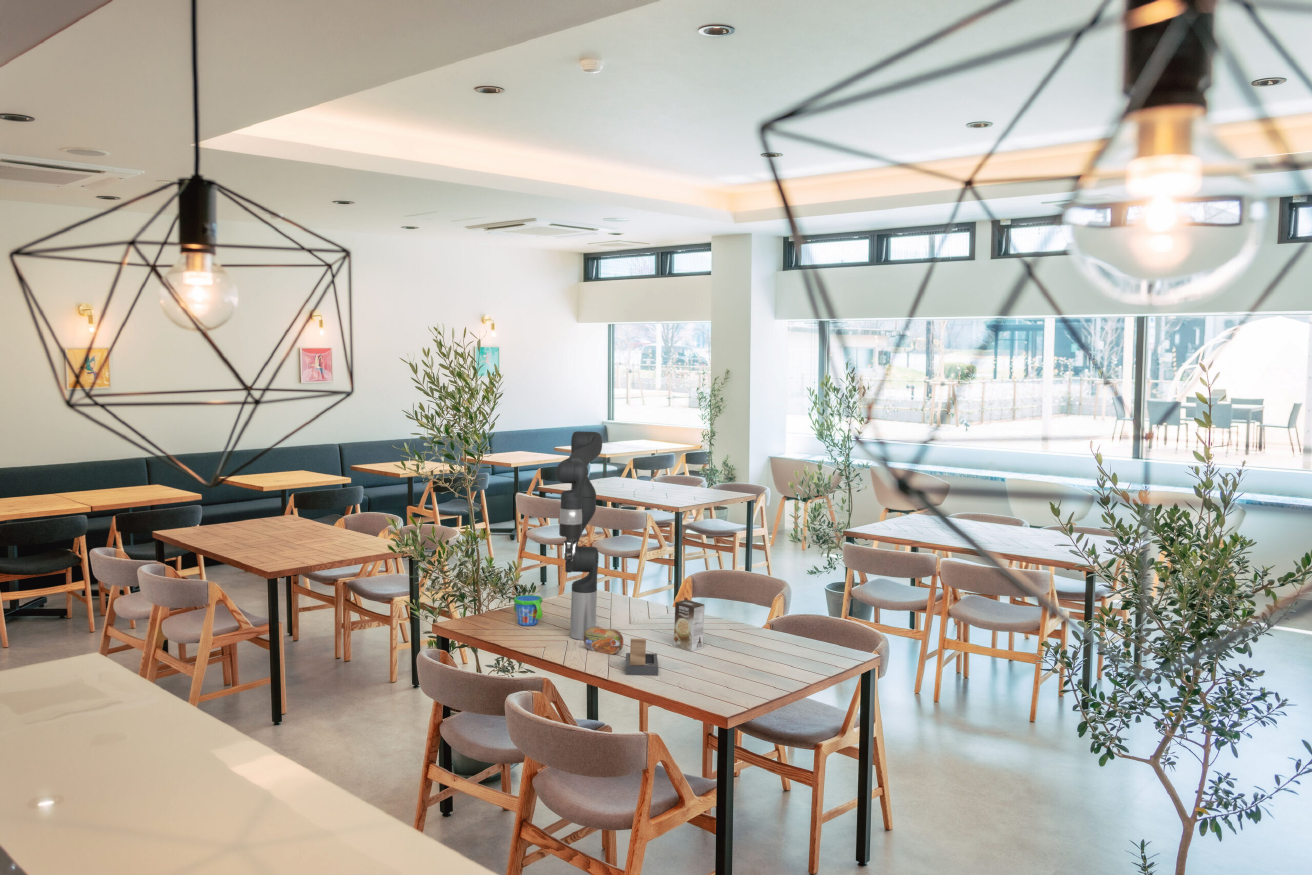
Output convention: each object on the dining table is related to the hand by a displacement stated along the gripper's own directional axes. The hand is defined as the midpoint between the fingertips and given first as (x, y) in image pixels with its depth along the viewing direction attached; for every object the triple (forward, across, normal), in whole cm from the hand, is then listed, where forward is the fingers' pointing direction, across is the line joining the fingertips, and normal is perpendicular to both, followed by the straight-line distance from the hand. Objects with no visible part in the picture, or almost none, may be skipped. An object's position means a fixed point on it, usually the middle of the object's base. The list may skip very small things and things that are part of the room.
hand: (569, 569), depth 309 cm
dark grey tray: (+30, -10, -25) cm, 40 cm away
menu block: (+30, -10, -24) cm, 40 cm away
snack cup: (+30, +42, +18) cm, 55 cm away
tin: (+30, +8, -12) cm, 34 cm away
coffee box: (+30, +16, -42) cm, 54 cm away
